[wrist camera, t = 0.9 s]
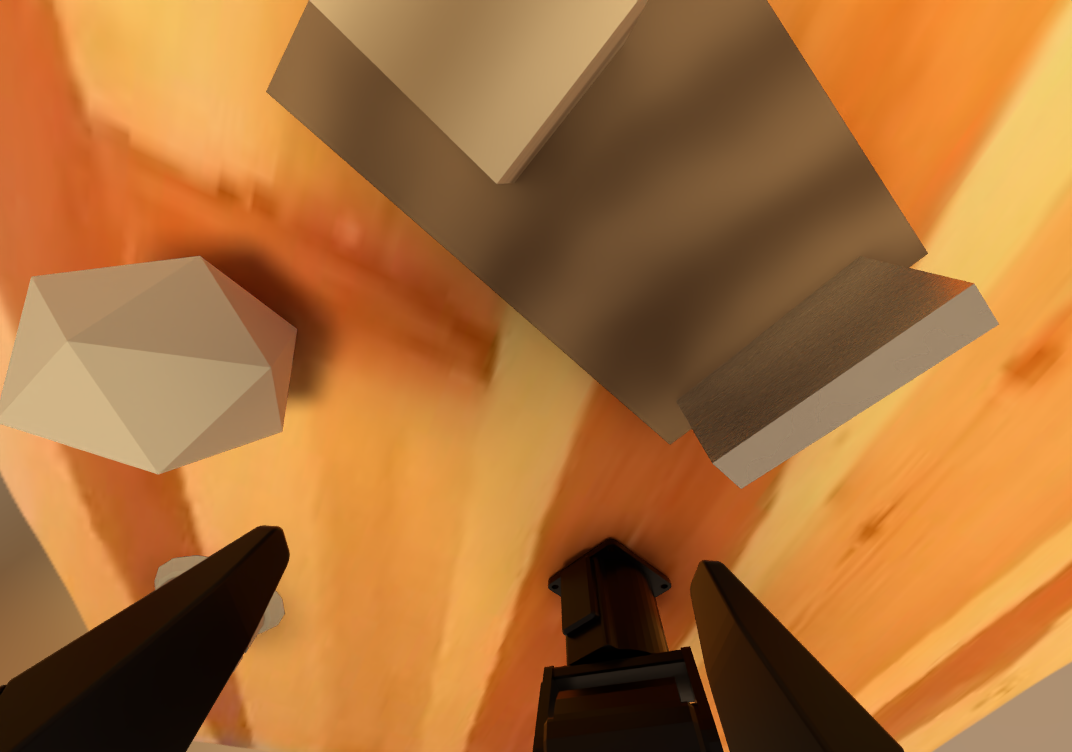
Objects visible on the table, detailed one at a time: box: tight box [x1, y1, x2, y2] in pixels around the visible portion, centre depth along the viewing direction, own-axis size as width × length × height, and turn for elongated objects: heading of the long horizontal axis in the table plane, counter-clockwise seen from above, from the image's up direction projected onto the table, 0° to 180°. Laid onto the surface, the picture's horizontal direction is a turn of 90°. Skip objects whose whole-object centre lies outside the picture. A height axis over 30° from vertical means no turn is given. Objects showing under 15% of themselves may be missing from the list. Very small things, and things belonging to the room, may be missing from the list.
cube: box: [309, 0, 648, 184], centre depth 11 cm, size 6×6×6 cm
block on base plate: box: [266, 0, 999, 489], centre depth 14 cm, size 24×14×6 cm, turn 48°
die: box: [0, 256, 297, 474], centre depth 17 cm, size 8×9×10 cm
